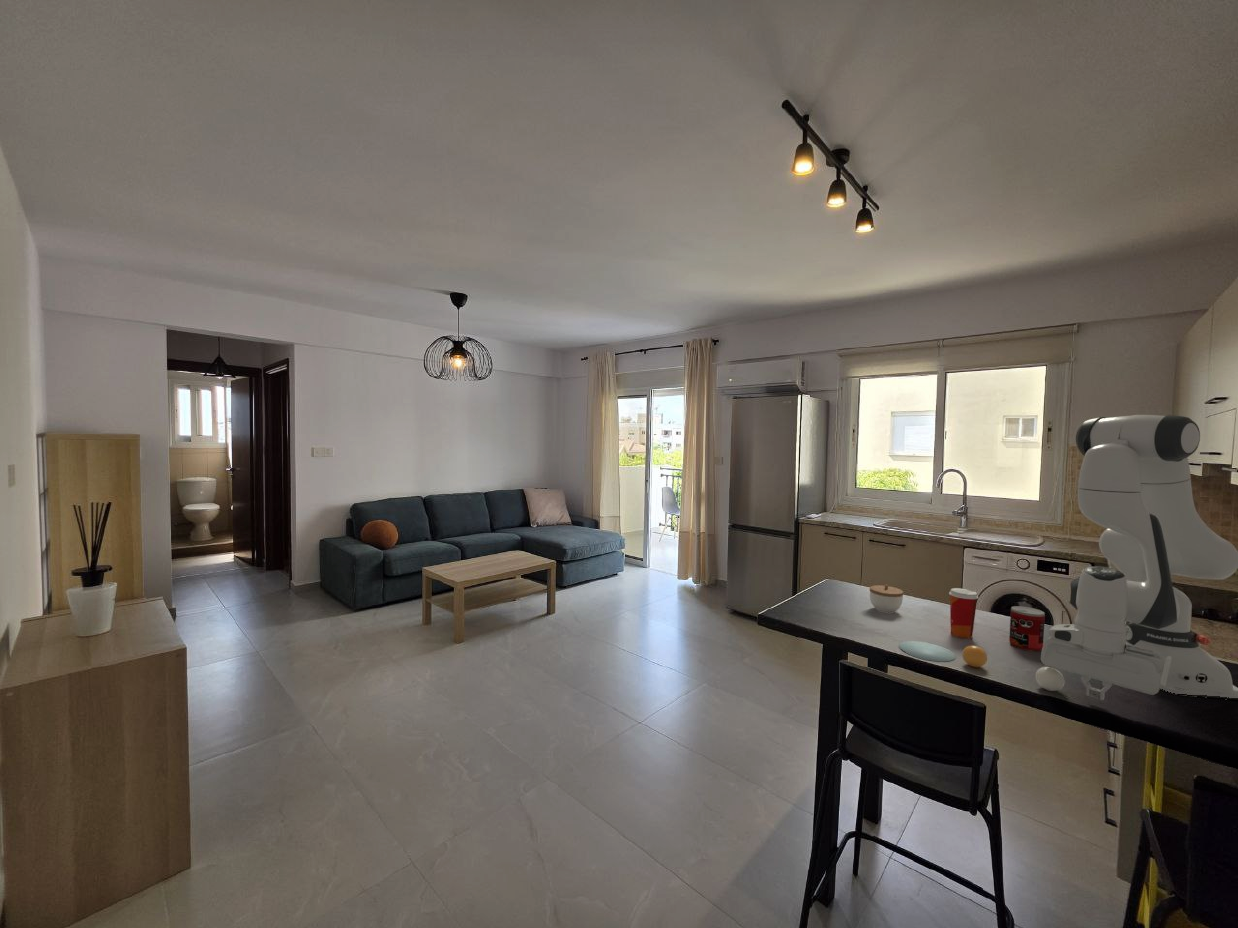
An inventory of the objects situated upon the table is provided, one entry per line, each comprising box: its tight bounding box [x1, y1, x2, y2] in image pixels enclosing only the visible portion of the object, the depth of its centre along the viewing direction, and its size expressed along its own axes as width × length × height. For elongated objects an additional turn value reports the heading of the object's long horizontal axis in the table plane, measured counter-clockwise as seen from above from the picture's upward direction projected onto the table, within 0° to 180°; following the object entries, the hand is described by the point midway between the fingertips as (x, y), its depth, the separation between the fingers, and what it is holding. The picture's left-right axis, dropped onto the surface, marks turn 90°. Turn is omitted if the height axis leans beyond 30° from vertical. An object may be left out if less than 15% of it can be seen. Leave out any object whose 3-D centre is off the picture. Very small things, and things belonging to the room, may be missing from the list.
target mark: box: [898, 640, 956, 663], centre depth 149 cm, size 14×14×1 cm
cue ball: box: [1035, 666, 1065, 692], centre depth 127 cm, size 6×6×6 cm
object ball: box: [961, 644, 988, 668], centre depth 140 cm, size 6×6×6 cm
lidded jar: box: [869, 584, 904, 615], centre depth 185 cm, size 11×11×9 cm
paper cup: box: [948, 587, 979, 639], centre depth 162 cm, size 8×8×14 cm
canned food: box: [1008, 605, 1046, 652], centre depth 155 cm, size 8×8×11 cm
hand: (1095, 696), depth 120 cm, fingers closed
